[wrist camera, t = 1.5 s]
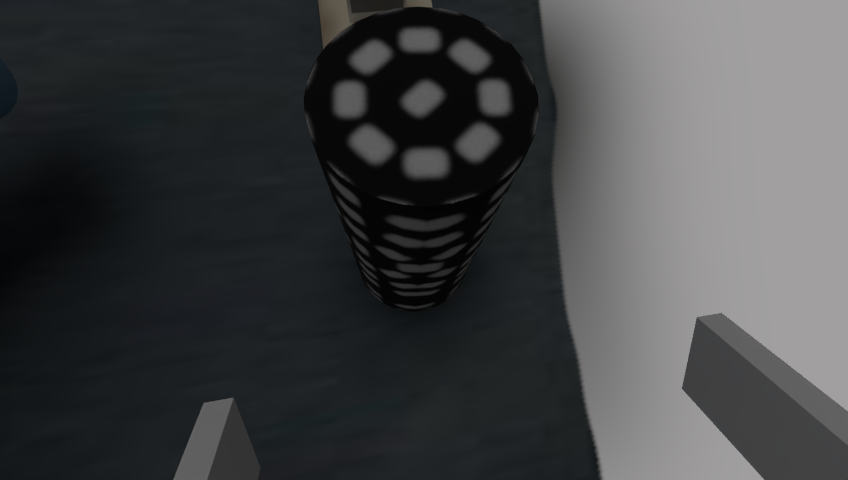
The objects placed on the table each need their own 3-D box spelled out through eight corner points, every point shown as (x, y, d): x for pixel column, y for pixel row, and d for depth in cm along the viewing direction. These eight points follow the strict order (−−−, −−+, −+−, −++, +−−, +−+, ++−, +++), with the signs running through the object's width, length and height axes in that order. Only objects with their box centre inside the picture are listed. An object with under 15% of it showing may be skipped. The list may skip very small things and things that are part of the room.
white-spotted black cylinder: (410, 188, 37) (415, -28, 18) (487, 255, 35) (585, 96, 16) (336, 260, 35) (253, 100, 16) (415, 334, 33) (431, 256, 14)
